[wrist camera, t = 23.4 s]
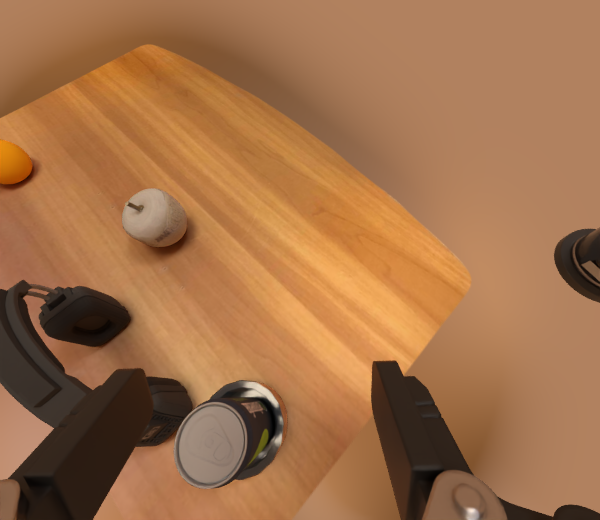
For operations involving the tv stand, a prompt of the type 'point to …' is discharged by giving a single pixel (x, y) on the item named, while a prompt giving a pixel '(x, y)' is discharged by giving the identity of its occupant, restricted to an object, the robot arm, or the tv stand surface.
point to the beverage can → (221, 440)
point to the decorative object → (154, 218)
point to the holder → (279, 415)
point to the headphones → (49, 371)
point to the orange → (13, 163)
